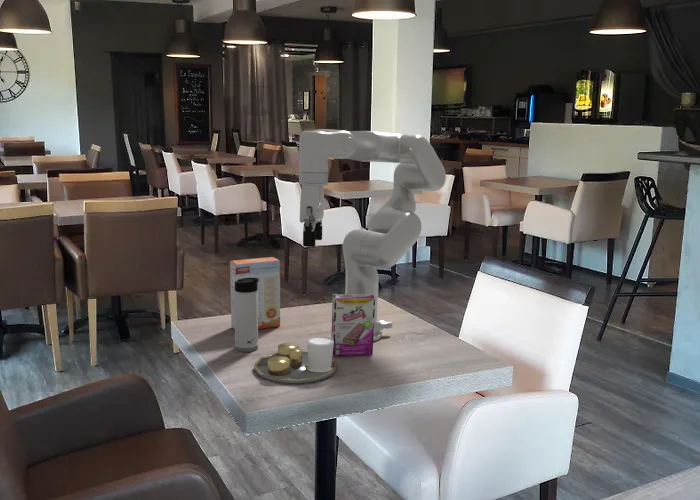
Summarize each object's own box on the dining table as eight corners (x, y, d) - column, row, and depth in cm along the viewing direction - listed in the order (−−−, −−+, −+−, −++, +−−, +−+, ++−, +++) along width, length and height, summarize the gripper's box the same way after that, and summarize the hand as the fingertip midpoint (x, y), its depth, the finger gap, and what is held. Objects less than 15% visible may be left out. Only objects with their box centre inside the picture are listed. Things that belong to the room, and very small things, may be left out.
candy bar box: (333, 357, 186) (334, 298, 183) (330, 351, 191) (331, 293, 188) (373, 355, 188) (375, 297, 185) (370, 349, 193) (371, 292, 190)
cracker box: (273, 321, 217) (273, 256, 212) (280, 327, 211) (281, 259, 207) (230, 327, 210) (229, 259, 206) (236, 332, 205) (235, 263, 201)
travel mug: (254, 353, 188) (254, 281, 184) (231, 351, 189) (230, 279, 186) (262, 345, 194) (262, 276, 190) (239, 343, 195) (239, 274, 192)
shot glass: (301, 369, 174) (301, 342, 173) (314, 360, 181) (314, 334, 179) (326, 373, 172) (326, 346, 170) (338, 364, 178) (338, 338, 177)
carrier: (320, 351, 191) (320, 333, 190) (349, 378, 172) (349, 359, 171) (245, 359, 183) (245, 341, 182) (266, 389, 164) (266, 369, 163)
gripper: (306, 175, 190) (305, 236, 193) (292, 181, 173) (291, 248, 177) (333, 176, 189) (332, 238, 192) (321, 182, 172) (320, 250, 176)
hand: (312, 243), depth 185 cm, fingers open, 9 cm apart
